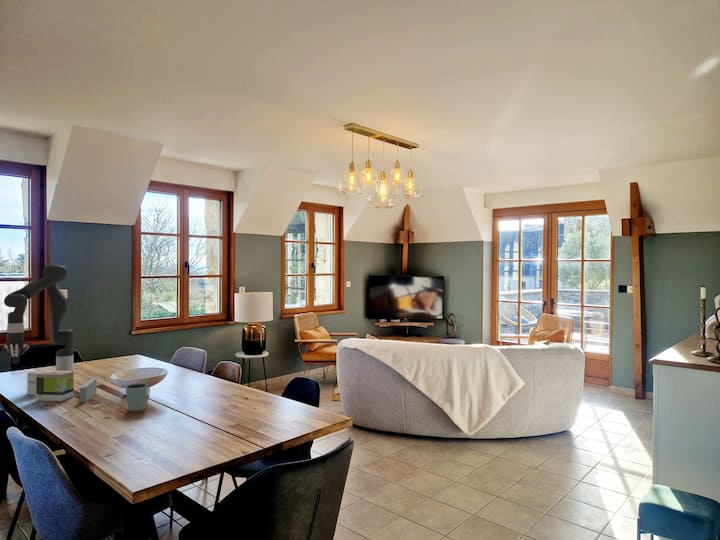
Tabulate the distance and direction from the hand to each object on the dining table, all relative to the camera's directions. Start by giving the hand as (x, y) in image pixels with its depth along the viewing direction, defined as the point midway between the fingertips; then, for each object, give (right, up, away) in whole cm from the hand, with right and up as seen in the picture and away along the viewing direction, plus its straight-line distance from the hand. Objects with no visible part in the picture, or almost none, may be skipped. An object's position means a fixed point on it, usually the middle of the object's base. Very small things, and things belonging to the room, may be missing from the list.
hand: (15, 363), depth 263 cm
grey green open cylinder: (+70, -22, -11) cm, 74 cm away
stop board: (+34, -21, +10) cm, 41 cm away
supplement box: (+2, -21, +15) cm, 26 cm away
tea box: (+18, -21, +5) cm, 28 cm away
